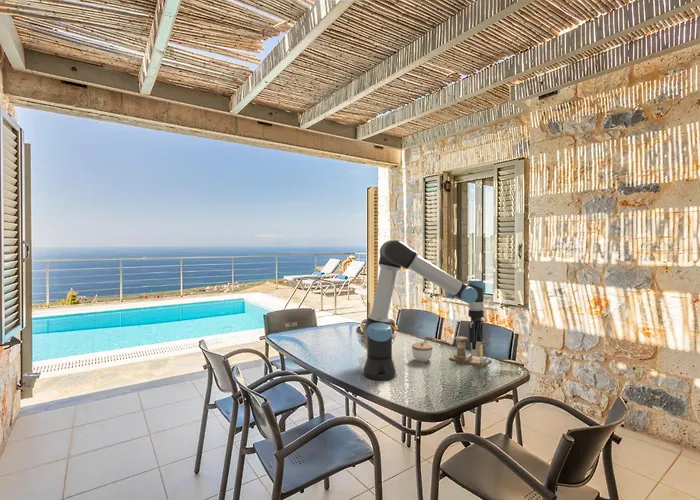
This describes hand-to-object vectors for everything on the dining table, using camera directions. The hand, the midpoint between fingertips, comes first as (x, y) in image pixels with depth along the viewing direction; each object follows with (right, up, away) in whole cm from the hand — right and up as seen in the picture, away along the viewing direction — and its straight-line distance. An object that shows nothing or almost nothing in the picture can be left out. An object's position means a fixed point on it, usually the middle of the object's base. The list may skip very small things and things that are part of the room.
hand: (476, 354), depth 184 cm
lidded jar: (-27, -5, +6) cm, 28 cm away
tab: (0, 0, 0) cm, 1 cm away
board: (-1, -5, +5) cm, 7 cm away
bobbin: (-5, -5, +9) cm, 11 cm away
